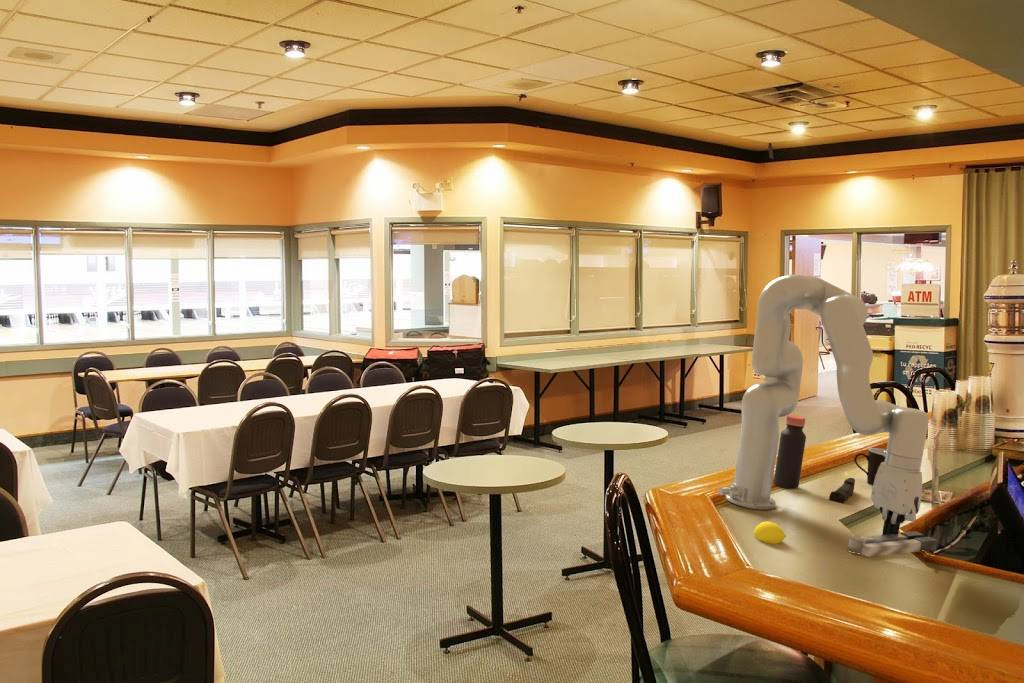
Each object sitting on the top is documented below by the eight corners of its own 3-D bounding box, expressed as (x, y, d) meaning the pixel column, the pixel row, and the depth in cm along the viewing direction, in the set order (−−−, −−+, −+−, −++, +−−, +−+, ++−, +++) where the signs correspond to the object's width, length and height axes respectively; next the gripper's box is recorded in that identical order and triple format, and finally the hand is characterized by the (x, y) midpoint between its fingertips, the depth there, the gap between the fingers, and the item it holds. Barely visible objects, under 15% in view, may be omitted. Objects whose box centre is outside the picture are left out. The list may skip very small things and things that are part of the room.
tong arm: (864, 551, 181) (866, 539, 180) (856, 547, 183) (858, 536, 182) (921, 545, 189) (923, 534, 188) (913, 541, 191) (915, 531, 190)
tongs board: (871, 571, 172) (874, 554, 172) (801, 536, 190) (803, 520, 190) (959, 561, 184) (962, 544, 184) (885, 528, 202) (887, 514, 202)
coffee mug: (896, 485, 246) (901, 453, 244) (892, 491, 239) (897, 458, 237) (855, 475, 252) (860, 444, 251) (850, 481, 245) (855, 449, 243)
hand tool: (843, 508, 217) (846, 491, 217) (827, 504, 219) (830, 487, 219) (861, 495, 232) (863, 479, 232) (846, 491, 235) (849, 475, 234)
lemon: (750, 546, 181) (750, 522, 181) (756, 540, 186) (756, 517, 185) (782, 551, 177) (782, 527, 177) (788, 545, 182) (788, 521, 182)
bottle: (803, 488, 232) (814, 419, 229) (788, 490, 228) (798, 420, 225) (783, 480, 237) (793, 413, 235) (768, 482, 233) (778, 414, 231)
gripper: (864, 452, 192) (852, 527, 195) (920, 472, 179) (905, 552, 181) (887, 452, 195) (874, 525, 198) (942, 471, 182) (928, 549, 184)
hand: (889, 538), depth 189 cm, fingers closed
